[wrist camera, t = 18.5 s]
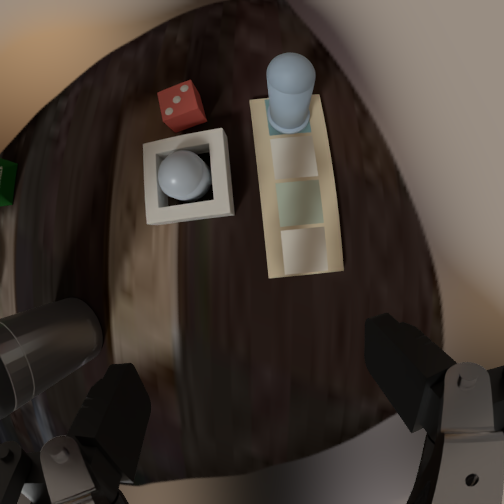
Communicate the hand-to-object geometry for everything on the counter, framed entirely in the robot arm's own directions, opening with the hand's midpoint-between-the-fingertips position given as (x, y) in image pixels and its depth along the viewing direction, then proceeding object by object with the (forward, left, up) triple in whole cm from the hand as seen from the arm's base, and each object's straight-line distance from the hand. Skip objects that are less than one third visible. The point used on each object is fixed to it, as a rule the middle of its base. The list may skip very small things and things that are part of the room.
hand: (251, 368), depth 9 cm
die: (-8, +20, -22) cm, 31 cm away
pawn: (+4, +17, -21) cm, 28 cm away
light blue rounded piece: (-8, +11, -22) cm, 26 cm away
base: (-8, +11, -22) cm, 26 cm away
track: (+4, +10, -22) cm, 25 cm away
